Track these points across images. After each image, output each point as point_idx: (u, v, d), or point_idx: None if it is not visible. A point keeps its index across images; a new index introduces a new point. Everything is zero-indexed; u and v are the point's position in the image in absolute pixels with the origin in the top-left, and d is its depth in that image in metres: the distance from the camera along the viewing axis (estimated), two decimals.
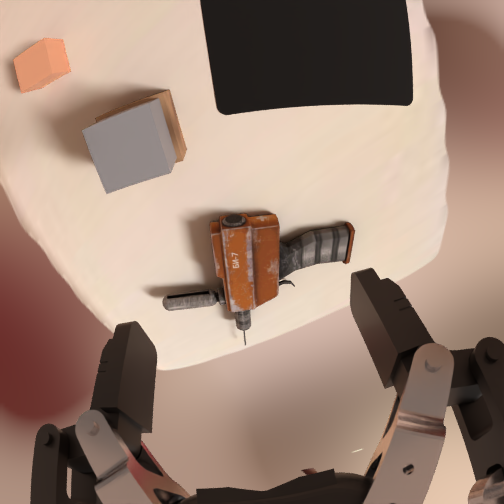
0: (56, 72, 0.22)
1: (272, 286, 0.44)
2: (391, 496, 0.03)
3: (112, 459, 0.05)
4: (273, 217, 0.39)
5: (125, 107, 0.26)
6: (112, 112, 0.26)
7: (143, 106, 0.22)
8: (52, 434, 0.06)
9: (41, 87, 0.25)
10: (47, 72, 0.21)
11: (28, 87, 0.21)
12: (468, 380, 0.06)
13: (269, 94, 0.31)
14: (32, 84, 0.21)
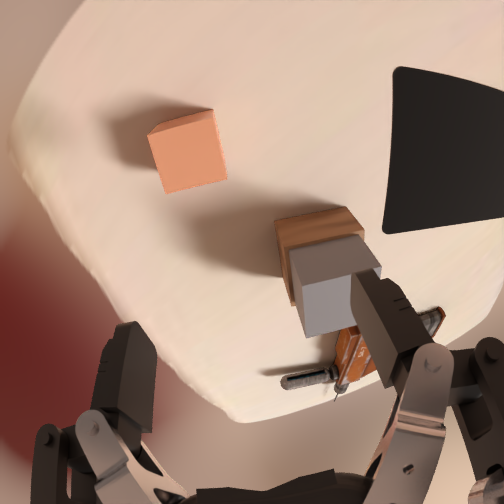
0: (225, 173, 0.23)
1: None
2: (391, 496, 0.03)
3: (112, 459, 0.05)
4: None
5: (322, 240, 0.27)
6: (306, 243, 0.27)
7: (376, 269, 0.23)
8: (52, 434, 0.06)
9: None
10: (218, 175, 0.22)
11: (179, 188, 0.22)
12: (468, 380, 0.06)
13: (424, 217, 0.32)
14: (188, 186, 0.22)
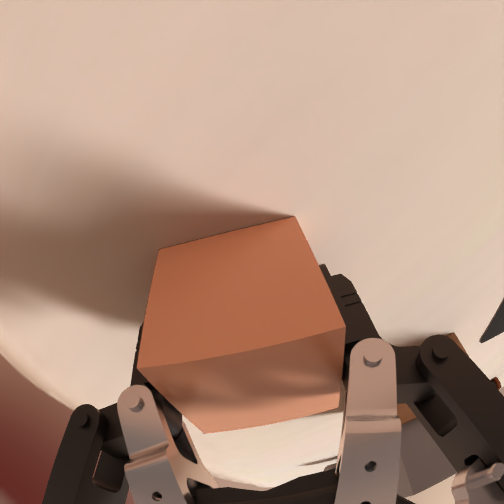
0: None
1: None
2: (361, 495, 0.04)
3: (151, 441, 0.06)
4: None
5: None
6: (413, 418, 0.14)
7: None
8: (89, 415, 0.07)
9: None
10: (321, 407, 0.09)
11: (235, 427, 0.09)
12: (413, 378, 0.06)
13: None
14: (254, 425, 0.09)
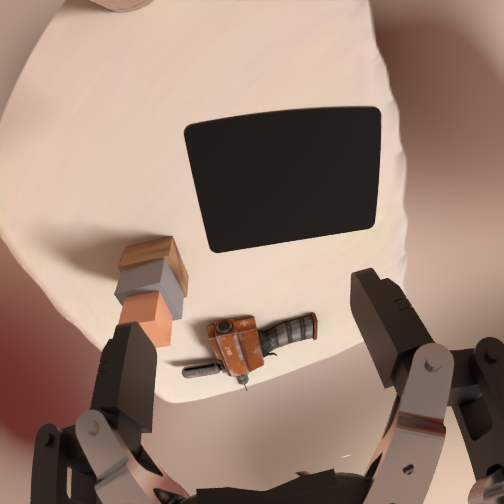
0: (169, 338, 0.35)
1: (258, 360, 0.58)
2: (391, 496, 0.03)
3: (112, 459, 0.05)
4: (252, 321, 0.53)
5: (141, 262, 0.39)
6: (131, 264, 0.39)
7: (156, 284, 0.35)
8: (52, 434, 0.06)
9: None
10: (164, 344, 0.34)
11: None
12: (468, 380, 0.06)
13: (250, 237, 0.44)
14: None
